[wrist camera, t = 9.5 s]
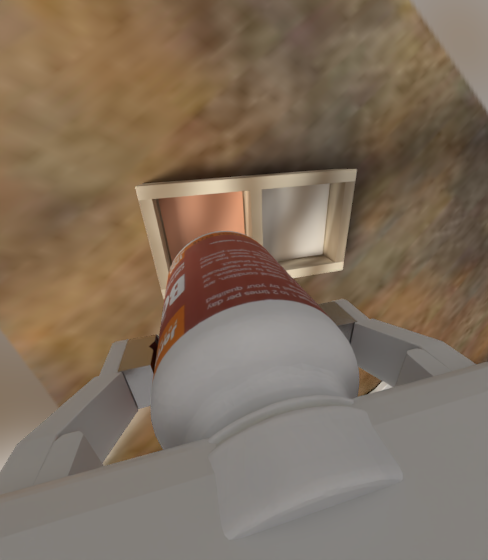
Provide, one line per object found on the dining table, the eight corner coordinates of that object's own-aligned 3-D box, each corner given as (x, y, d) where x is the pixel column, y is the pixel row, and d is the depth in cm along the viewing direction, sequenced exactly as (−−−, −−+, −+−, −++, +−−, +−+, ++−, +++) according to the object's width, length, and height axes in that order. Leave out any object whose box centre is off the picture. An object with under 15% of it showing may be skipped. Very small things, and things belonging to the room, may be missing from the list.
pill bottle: (159, 231, 12) (36, 546, 2) (274, 224, 13) (540, 400, 3) (176, 329, 14) (158, 658, 5) (269, 315, 16) (405, 557, 6)
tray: (335, 168, 24) (357, 169, 21) (325, 258, 28) (342, 270, 25) (142, 183, 21) (135, 186, 18) (166, 282, 25) (163, 298, 22)
